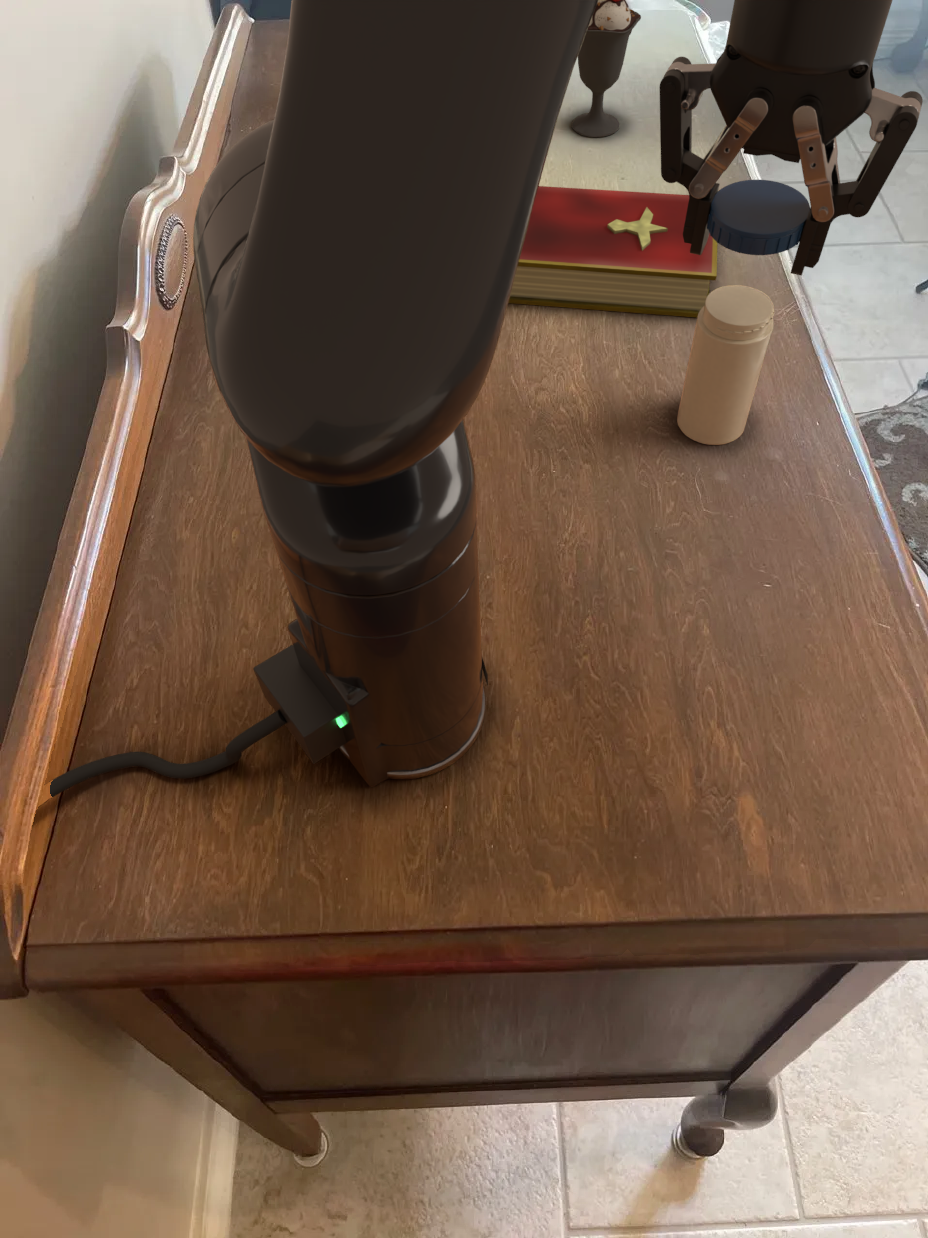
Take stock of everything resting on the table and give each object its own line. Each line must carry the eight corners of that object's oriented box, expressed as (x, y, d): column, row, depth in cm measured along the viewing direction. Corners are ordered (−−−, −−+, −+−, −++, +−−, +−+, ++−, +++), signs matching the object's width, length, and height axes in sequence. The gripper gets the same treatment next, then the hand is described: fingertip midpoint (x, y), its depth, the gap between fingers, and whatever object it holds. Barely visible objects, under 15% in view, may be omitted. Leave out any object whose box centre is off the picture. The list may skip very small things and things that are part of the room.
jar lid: (814, 209, 56) (820, 187, 55) (794, 264, 53) (800, 242, 52) (719, 193, 58) (723, 171, 57) (695, 245, 55) (699, 224, 54)
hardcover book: (480, 220, 85) (479, 176, 82) (710, 235, 83) (719, 190, 79) (457, 298, 79) (455, 254, 75) (707, 318, 76) (717, 272, 72)
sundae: (625, 143, 92) (644, -29, 80) (559, 139, 93) (567, -32, 81) (631, 111, 96) (650, -58, 84) (568, 107, 97) (577, -60, 85)
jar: (711, 455, 67) (741, 338, 58) (662, 418, 69) (684, 301, 61) (759, 424, 68) (794, 307, 60) (709, 390, 71) (737, 272, 62)
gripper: (993, -73, 44) (874, 248, 58) (698, -105, 48) (652, 205, 61) (980, -12, 40) (855, 317, 54) (659, -52, 44) (619, 267, 57)
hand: (747, 256), depth 57 cm, fingers closed on jar lid, 5 cm apart
